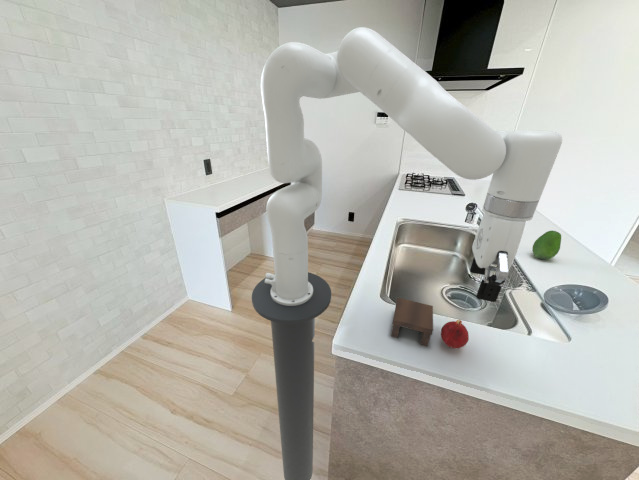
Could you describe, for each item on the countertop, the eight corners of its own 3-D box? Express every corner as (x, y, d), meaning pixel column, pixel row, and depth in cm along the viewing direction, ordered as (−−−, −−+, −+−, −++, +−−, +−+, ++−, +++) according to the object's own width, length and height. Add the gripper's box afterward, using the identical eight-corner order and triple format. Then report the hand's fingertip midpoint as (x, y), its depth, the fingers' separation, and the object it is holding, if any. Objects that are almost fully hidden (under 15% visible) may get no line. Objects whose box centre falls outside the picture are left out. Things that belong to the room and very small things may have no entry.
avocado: (558, 264, 98) (572, 235, 93) (535, 262, 99) (547, 233, 94) (546, 254, 105) (558, 227, 100) (524, 252, 106) (535, 225, 101)
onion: (463, 360, 59) (473, 334, 55) (436, 349, 61) (444, 324, 58) (464, 342, 63) (473, 317, 60) (439, 333, 66) (446, 309, 62)
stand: (390, 336, 65) (393, 319, 62) (394, 313, 72) (397, 297, 70) (428, 347, 62) (433, 330, 59) (428, 321, 69) (432, 305, 67)
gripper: (477, 191, 54) (457, 261, 62) (494, 219, 40) (465, 307, 47) (519, 195, 52) (493, 268, 59) (554, 226, 37) (514, 317, 45)
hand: (481, 285), depth 53 cm, fingers open, 9 cm apart
